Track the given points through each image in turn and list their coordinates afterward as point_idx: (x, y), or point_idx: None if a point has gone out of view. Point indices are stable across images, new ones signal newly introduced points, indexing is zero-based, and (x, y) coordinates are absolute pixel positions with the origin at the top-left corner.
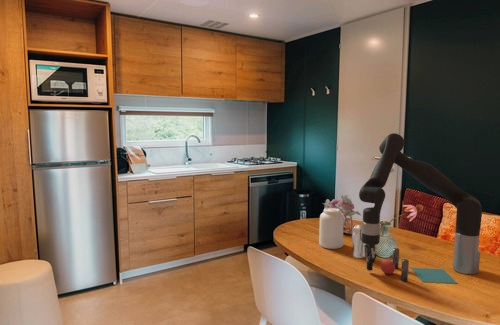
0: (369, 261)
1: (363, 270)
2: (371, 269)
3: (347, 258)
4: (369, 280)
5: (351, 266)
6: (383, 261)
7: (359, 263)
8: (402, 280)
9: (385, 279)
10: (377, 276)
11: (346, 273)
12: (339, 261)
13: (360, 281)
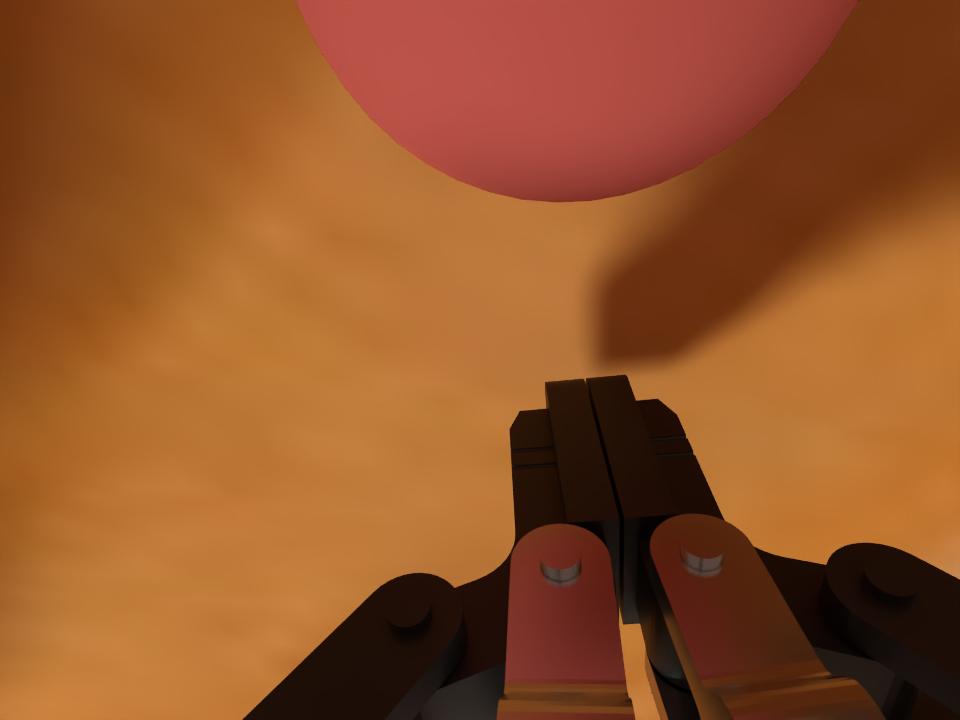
0: (947, 715)
1: (478, 461)
2: (662, 409)
3: (32, 634)
4: (933, 405)
5: (355, 603)
6: (578, 140)
7: (158, 497)
8: None
9: (939, 59)
10: (752, 236)
11: (644, 661)
12: (223, 712)
13: (947, 530)
